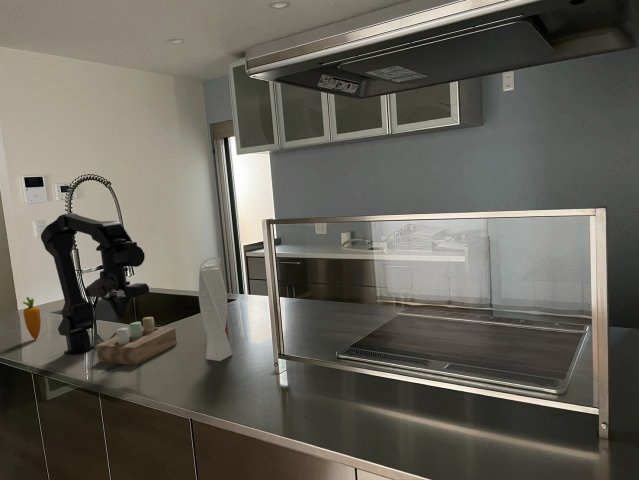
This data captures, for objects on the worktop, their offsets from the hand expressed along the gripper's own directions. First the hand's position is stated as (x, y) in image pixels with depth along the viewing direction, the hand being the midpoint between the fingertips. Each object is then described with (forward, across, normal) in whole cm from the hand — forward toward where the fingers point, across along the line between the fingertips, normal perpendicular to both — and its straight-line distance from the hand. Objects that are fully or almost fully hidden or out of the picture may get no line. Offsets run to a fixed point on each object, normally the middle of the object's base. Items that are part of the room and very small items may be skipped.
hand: (120, 319), depth 146 cm
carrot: (+12, -50, +11) cm, 53 cm away
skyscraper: (+12, +28, +6) cm, 31 cm away
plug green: (+9, 0, +5) cm, 11 cm away
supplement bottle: (+12, +22, +16) cm, 30 cm away
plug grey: (+9, 0, 0) cm, 9 cm away
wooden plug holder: (+12, 0, +6) cm, 13 cm away
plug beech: (+9, 0, +11) cm, 14 cm away
